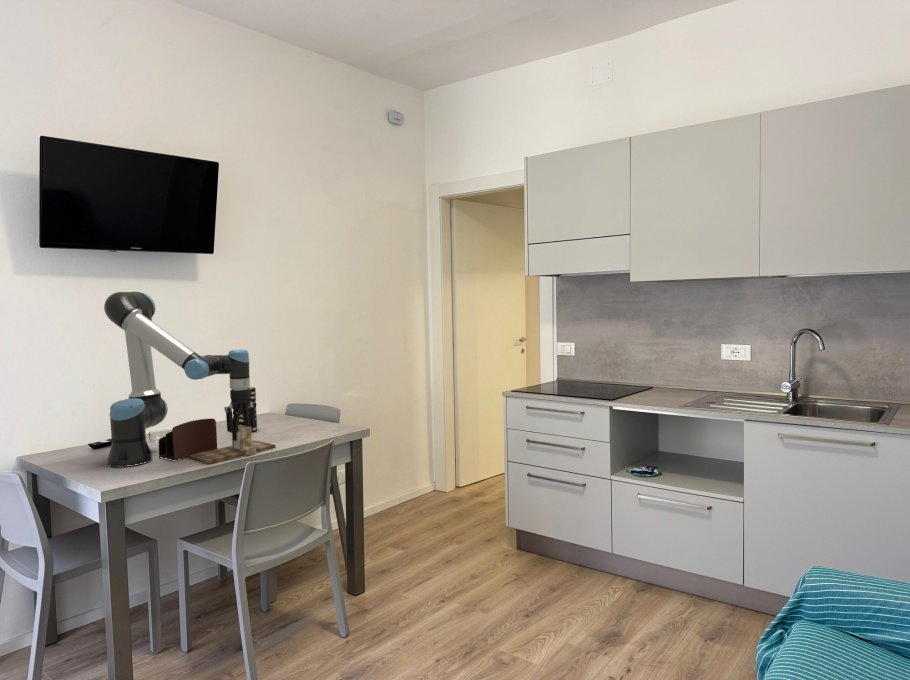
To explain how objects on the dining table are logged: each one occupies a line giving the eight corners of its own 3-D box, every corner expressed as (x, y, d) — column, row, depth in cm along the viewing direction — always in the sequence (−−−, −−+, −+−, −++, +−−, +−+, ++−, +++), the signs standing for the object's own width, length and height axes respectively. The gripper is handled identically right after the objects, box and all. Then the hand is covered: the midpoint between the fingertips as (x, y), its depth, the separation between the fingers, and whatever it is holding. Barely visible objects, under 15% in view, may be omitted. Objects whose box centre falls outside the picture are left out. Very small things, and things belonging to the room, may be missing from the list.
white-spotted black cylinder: (238, 434, 291) (237, 390, 290) (237, 430, 299) (235, 388, 298) (258, 432, 295) (256, 389, 293) (256, 429, 302) (254, 386, 301)
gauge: (247, 455, 252) (246, 429, 251) (225, 450, 261) (224, 425, 260) (256, 453, 255) (255, 427, 254) (233, 447, 264) (233, 423, 263)
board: (209, 464, 240) (209, 460, 240) (188, 459, 249) (188, 455, 249) (275, 448, 264) (275, 444, 264) (254, 443, 273) (254, 440, 273)
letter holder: (218, 450, 263) (216, 416, 262) (174, 461, 246) (172, 425, 245) (202, 447, 268) (200, 414, 267) (158, 458, 251) (156, 422, 250)
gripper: (226, 392, 246) (229, 452, 248) (264, 386, 260) (265, 444, 262) (215, 390, 251) (217, 450, 252) (252, 385, 264) (254, 441, 266)
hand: (242, 447), depth 257 cm, fingers closed on gauge, 4 cm apart
